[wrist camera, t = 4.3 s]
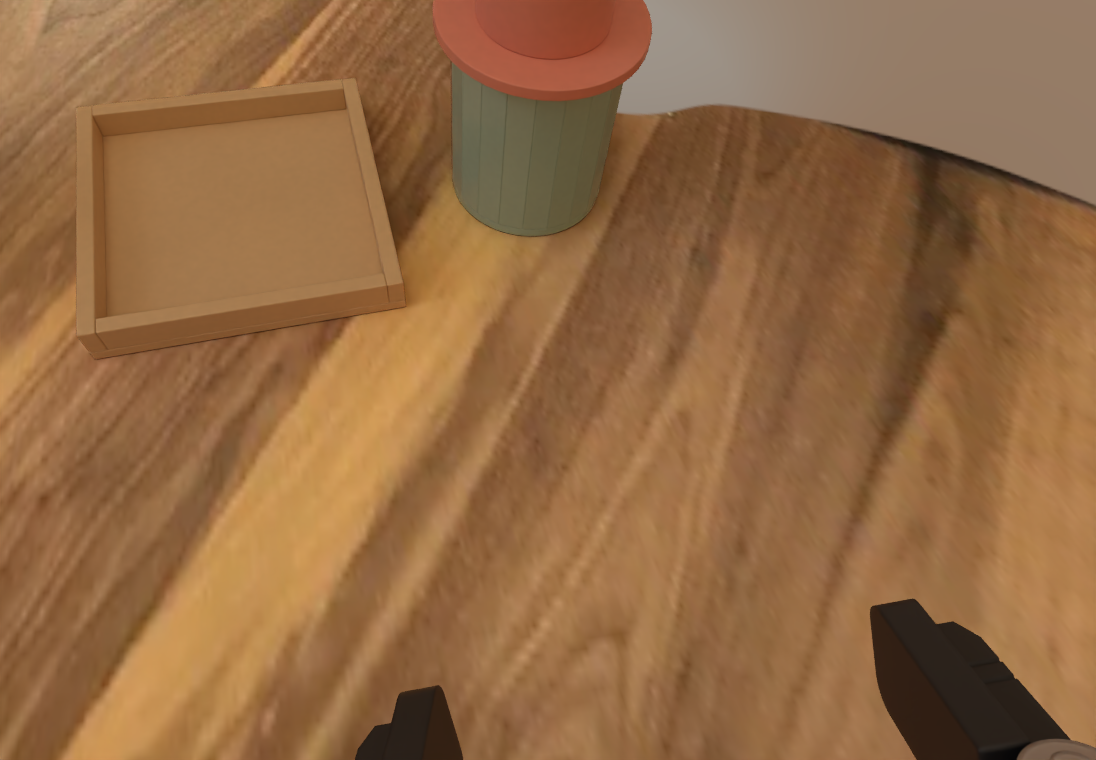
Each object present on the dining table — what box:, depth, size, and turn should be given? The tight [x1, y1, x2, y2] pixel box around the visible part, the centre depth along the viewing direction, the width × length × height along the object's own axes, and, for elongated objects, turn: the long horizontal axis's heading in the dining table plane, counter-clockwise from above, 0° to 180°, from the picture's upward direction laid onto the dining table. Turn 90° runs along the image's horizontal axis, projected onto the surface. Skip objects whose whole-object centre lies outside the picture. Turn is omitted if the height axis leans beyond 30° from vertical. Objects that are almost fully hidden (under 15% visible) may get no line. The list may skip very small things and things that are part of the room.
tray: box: [76, 78, 406, 359], centre depth 41 cm, size 15×15×2 cm
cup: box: [451, 61, 623, 236], centre depth 40 cm, size 8×8×10 cm
